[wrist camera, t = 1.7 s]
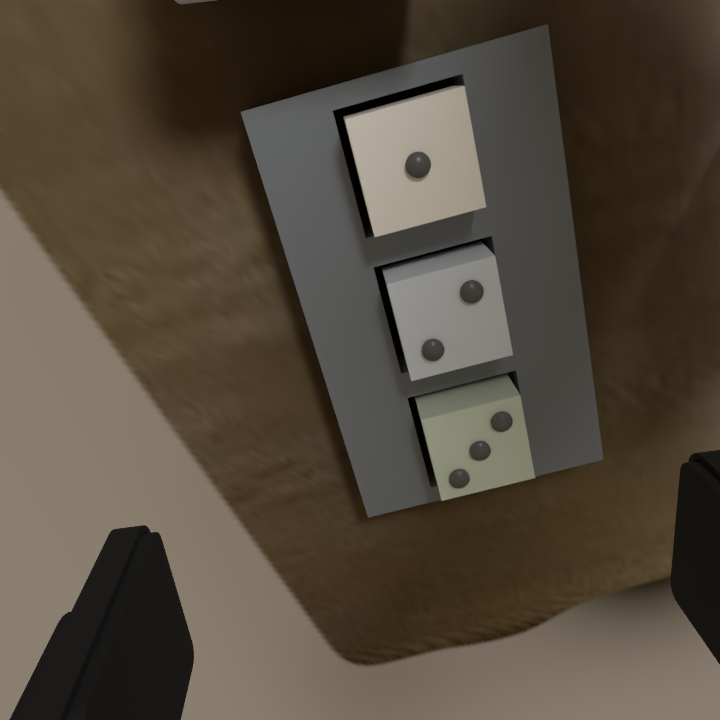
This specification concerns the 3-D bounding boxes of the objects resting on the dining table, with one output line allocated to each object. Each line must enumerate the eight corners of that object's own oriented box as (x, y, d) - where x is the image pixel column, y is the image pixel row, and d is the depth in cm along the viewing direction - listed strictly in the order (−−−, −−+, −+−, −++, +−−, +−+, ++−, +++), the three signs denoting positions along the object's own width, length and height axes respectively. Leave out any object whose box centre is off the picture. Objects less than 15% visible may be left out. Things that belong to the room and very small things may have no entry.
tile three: (505, 371, 35) (521, 396, 33) (519, 449, 38) (536, 480, 35) (413, 394, 36) (421, 421, 33) (433, 470, 38) (442, 503, 35)
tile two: (480, 241, 33) (496, 256, 30) (498, 333, 35) (514, 356, 32) (381, 267, 33) (387, 285, 30) (404, 357, 35) (411, 382, 32)
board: (531, 28, 30) (547, 24, 28) (587, 438, 39) (603, 459, 37) (246, 110, 31) (240, 111, 29) (365, 492, 40) (368, 517, 38)
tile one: (451, 85, 30) (465, 85, 27) (472, 196, 32) (487, 207, 29) (343, 116, 30) (344, 119, 27) (370, 224, 32) (375, 238, 29)
